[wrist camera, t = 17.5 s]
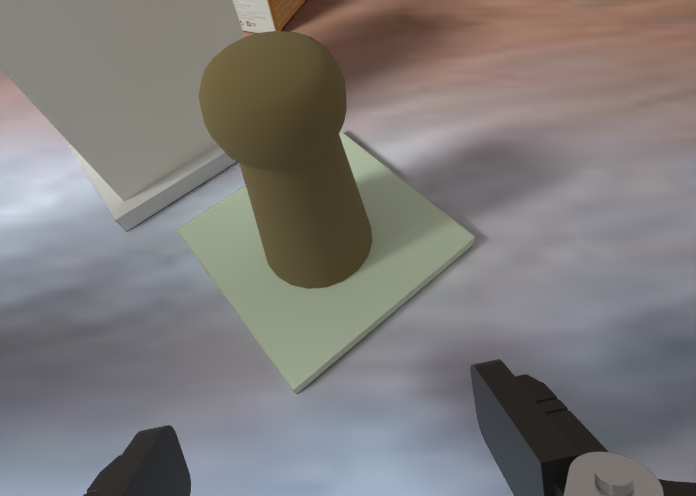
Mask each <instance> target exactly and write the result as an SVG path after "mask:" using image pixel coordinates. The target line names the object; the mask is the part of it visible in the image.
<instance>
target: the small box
mask: <svg viewBox="0 0 696 496" xmlns="http://www.w3.org/2000/svg"><path fill="white" fill-rule="evenodd" d="M305 1H306V0H233V3H234V6H235V9H236V12H237V15H238V18H239V21H240V24H241V27H242V30H243V31H248V32H254V33H262V32H270V31H281V30H282V28H283V27H284V26H285V25H286V23H287V22H288V21H289V20H290V19H291V17H292V16H293V15H294V14H295V13H296V11H297V10H298V9H299V8H300V7H301V6H302V4H303V3H304V2H305Z"/></svg>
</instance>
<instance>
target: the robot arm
mask: <svg viewBox="0 0 696 496" xmlns="http://www.w3.org/2000/svg"><path fill="white" fill-rule="evenodd" d="M471 378H472V384H473V391H474V398H475V405H476V412H477V418H478V423H479V426H480V430H481V433H482V435H483V438H484V440H485V442H486V444H487V446H488V448H489V450H490V452H491V454H492V455H493V457H494V459H495V461H496V463H497V465H498V466H499V468H500V470H501V472H502V474H503V476H504V478H505V479H506V481H507V483H508V485H509V487H510V489H511V491H512V492H513V494H514V496H696V483H689V482H674V481H665V480H660V479H657V477H656V476H655V475H654V474H653V473H652V472H651V471H650V470H649V469H647V468H646V467H645V466H643V465H642V464H640V463H639V462H637V461H635V460H633V459H631V458H628V457H625V456H623V455H619V454H615V453H610V452H608V451H607V450H606V449H605V448H604V447H603V446H602V445H601V443H600V442H599V441H598V440H597V439H596V438H595V437H594V436H593V435H592V434H591V433H590V432H589V431H588V430H587V429H586V428H585V426H584V425H583V424H582V423H581V422H580V421H579V420H578V419H577V418H576V417H575V416H574V415H573V414H572V413H571V412H570V411H568V409H567V407H566V406H565V405H564V404H563V403H562V402H561V401H560V400H558V399H557V397H556V396H555V395H554V393H553V392H552V391H551V390H550V389H549V388H548V387H547V386H546V385H545V384H544V383H542V382H540V381H538V380H536V379H534V378H532V377H530V376H528V375H526V374H525V375H520V376H516V377H515V376H514V375H513V374H512V373H511V371H510V370H509V369H508V368H507V367H506V365H505V364H504V363H503V362H502V361H501V360H500V359H498V360H493V361H488V362H483V363H478V364H473V365H471ZM190 491H191V479H190V474H189V471H188V468H187V465H186V462H185V459H184V456H183V453H182V450H181V447H180V444H179V441H178V438H177V435H176V432H175V430H174V429H173V427H171V426H169V425H168V426H163V427H158V428H153V429H148V430H143V431H140V432H138V433H137V434H136V436H135V437H134V438H133V440H132V441H131V443H130V444H129V445H128V447H127V448H126V450H125V451H124V453H123V454H122V455H120V456H118V457H117V458H116V459H115V460H114V461H113V462H111V463H110V464H109V465H108V466H107V467H106V468H105V469H103V470H102V471H101V472H100V473H99V475H98V476H97V477H96V479H95V480H94V481H93V483H92V484H91V486H90V487H89V488H88V490H87V494H84V495H83V496H190Z"/></svg>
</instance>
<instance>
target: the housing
mask: <svg viewBox="0 0 696 496" xmlns="http://www.w3.org/2000/svg"><path fill="white" fill-rule="evenodd" d="M244 37H245V36H244V33H243V30H242V27H241V24H240V21H239V18H238V15H237V12H236V9H235V6H234V3H233V0H0V68H1V69H2V71H3V72H4V73H5V74H6V75H7V76H8V77H9V78H10V79H11V80H12V81H13V82H14V83H15V85H16V86H17V87H18V88H19V89H20V90H21V91H22V92H23V93H24V94H25V95H26V96H27V98H28V99H29V100H30V101H31V102H32V103H33V104H34V105H35V106H36V107H37V108H38V109H39V110H40V112H41V113H42V114H43V115H44V116H45V117H46V118H47V119H48V120H49V121H50V122H51V123H52V125H53V126H54V127H55V128H56V129H57V130H58V131H59V132H60V133H61V134H62V135H63V136H64V137H65V139H66V140H67V141H68V142H69V144H68V146H69V148H70V149H71V151H72V152H73V154H74V156H75V157H76V159H77V160H78V162H79V164H80V165H81V167H82V168H83V170H84V172H85V173H86V175H87V176H88V178H89V180H90V181H91V183H92V184H93V186H94V188H95V189H96V191H97V192H98V194H99V196H100V197H101V199H102V201H103V202H104V204H105V205H106V207H107V209H108V210H109V212H110V213H111V215H112V217H113V218H114V220H115V221H116V222H117V223H118V224H119V225H120V226H121V227H122V228H123V229H124V230H125V231H128V230H129V229H131V228H133V227H134V226H136V225H137V224H139V223H141V222H142V221H144V220H145V219H147V218H148V217H150V216H152V215H153V214H155V213H156V212H158V211H160V210H161V209H163V208H164V207H166V206H167V205H169V204H171V203H172V202H174V201H175V200H177V199H179V198H180V197H182V196H183V195H185V194H187V193H188V192H190V191H191V190H193V189H194V188H196V187H198V186H199V185H201V184H202V183H204V182H206V181H207V180H209V179H210V178H212V177H214V176H215V175H217V174H218V173H220V172H221V171H223V170H225V169H226V168H228V167H229V166H231V165H233V164H234V163H236V162H237V161H235V160H233V159H231V158H230V157H229V156H228V155H227V154H226V153H225V152H224V151H223V150H222V148H221V147H220V146H219V145H218V144H217V143H216V142H215V141H214V139H213V138H212V137H211V135H210V133H209V132H208V130H207V128H206V126H205V124H204V120H203V116H202V112H201V107H200V102H199V97H198V96H199V91H200V85H201V80H202V76H203V72H204V70H205V68H206V67H207V66H208V64H209V63H210V61H211V60H212V59H213V58H214V57H215V56H216V55H217V54H219V53H220V52H221V51H222V50H224V49H225V48H226V47H227V46H229V45H230V44H232V43H234V42H236V41H238V40H240V39H242V38H244Z"/></svg>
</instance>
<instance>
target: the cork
mask: <svg viewBox="0 0 696 496" xmlns="http://www.w3.org/2000/svg"><path fill="white" fill-rule="evenodd" d="M198 97H199V102H200V107H201V112H202V116H203V120H204V124H205V126H206V128H207V130H208V132H209V133H210V135H211V137H212V138H213V139H214V141H215V142H216V143H217V144H218V145H219V146H220V147H221V148H222V150H223V151H224V152H225V153H226V154H227V155H228V156H229V157H230V158H231V159H233V160H235V161H237V162H239V163H240V166H241V170H242V173H243V177H244V181H245V184H246V188H247V191H248V195H249V198H250V202H251V205H252V209H253V213H254V216H255V220H256V223H257V227H258V230H259V234H260V238H261V241H262V245H263V248H264V252H265V255H266V259H267V262H268V265H269V266H270V268H271V269H272V270H273V271H274V273H275V274H276V275H277V277H279V278H281V279H282V280H284V281H286V282H287V283H289V284H291V285H293V286H298V287H303V288H307V289H312V288H325V287H329V286H332V285H334V284H337V283H340V282H342V281H344V280H346V279H347V278H348V277H350V276H351V275H353V274H354V273H355V272H357V271H358V270H359V268H360V267H361V266H362V264H363V263H364V262H365V260H366V259H367V257H368V255H369V252H370V248H371V245H372V231H371V226H370V223H369V220H368V217H367V214H366V211H365V208H364V205H363V202H362V199H361V196H360V193H359V190H358V188H357V185H356V182H355V179H354V176H353V173H352V170H351V167H350V164H349V161H348V158H347V155H346V152H345V150H344V147H343V144H342V141H341V138H340V135H339V133H340V130H341V128H342V126H343V123H344V120H345V114H346V91H345V82H344V78H343V75H342V73H341V71H340V68H339V66H338V64H337V63H336V61H335V59H334V58H333V56H332V54H331V53H330V52H329V51H328V50H327V49H326V48H325V47H324V46H323V45H322V44H320V43H319V42H318V41H316V40H315V39H313V38H312V37H309V36H306V35H303V34H299V33H296V32H285V31H270V32H262V33H257V34H254V35H251V36H247V37H244V38H242V39H240V40H238V41H236V42H234V43H232V44H230V45H229V46H227V47H226V48H225V49H224V50H222V51H221V52H220V53H219V54H217V55H216V56H215V57H214V58H213V59H212V60H211V61H210V63H209V64H208V66H207V67H206V68H205V70H204V72H203V76H202V80H201V85H200V91H199V96H198Z"/></svg>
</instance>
